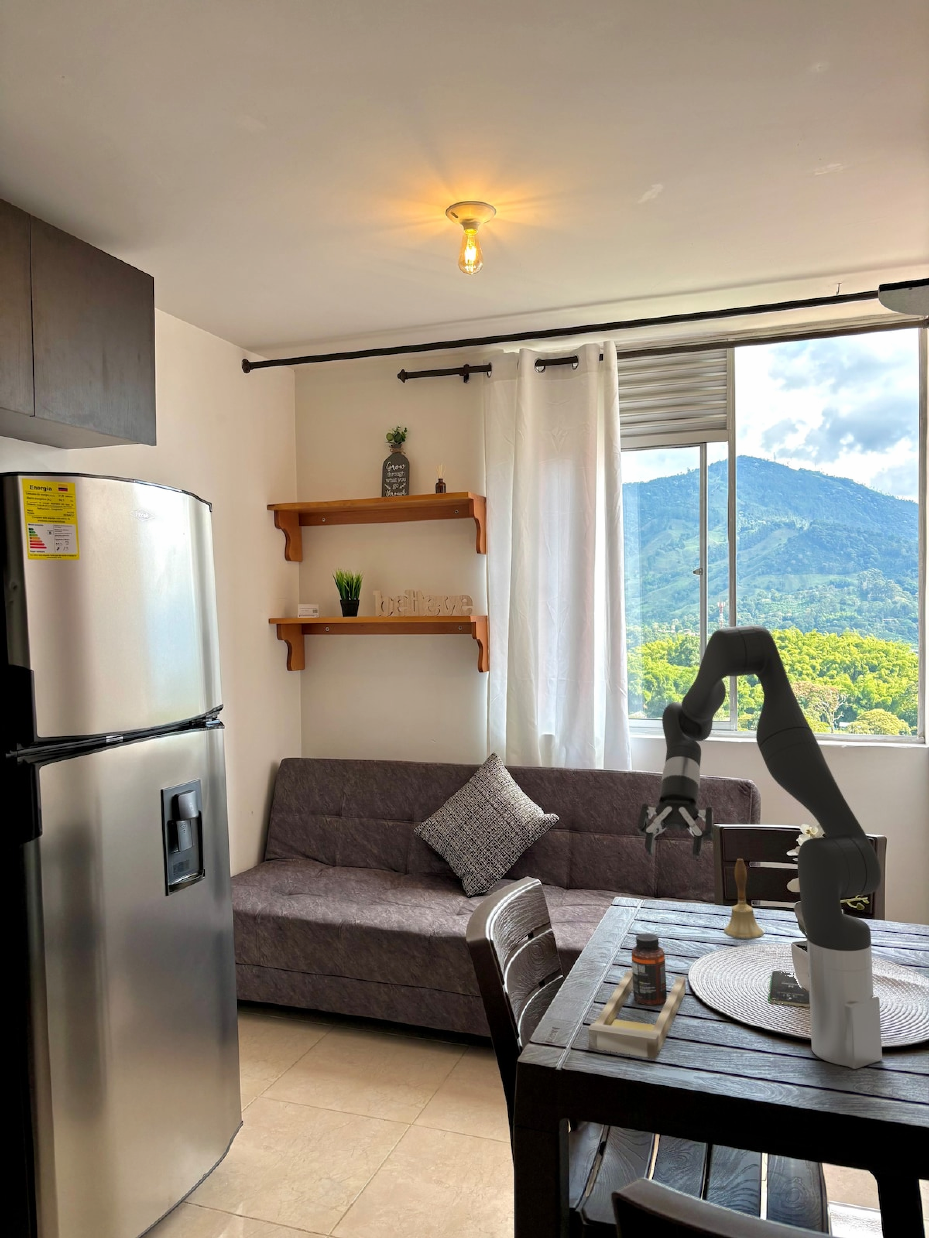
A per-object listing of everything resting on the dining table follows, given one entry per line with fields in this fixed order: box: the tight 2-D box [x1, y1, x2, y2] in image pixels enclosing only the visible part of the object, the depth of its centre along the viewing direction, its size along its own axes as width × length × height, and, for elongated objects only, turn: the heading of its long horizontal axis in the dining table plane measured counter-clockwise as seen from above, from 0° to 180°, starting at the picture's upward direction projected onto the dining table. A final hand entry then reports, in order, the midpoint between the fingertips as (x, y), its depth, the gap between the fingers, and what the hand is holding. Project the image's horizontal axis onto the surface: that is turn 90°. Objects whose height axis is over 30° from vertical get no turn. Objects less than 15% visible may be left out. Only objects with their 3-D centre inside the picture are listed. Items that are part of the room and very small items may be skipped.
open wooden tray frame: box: [587, 970, 687, 1060], centre depth 150 cm, size 28×11×3 cm, turn 157°
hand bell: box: [723, 858, 764, 939], centre depth 192 cm, size 8×8×16 cm
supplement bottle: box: [631, 932, 668, 1006], centre depth 158 cm, size 6×6×11 cm
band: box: [611, 1018, 655, 1032], centre depth 145 cm, size 5×8×1 cm, turn 67°
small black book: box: [767, 970, 810, 1008], centre depth 160 cm, size 8×1×15 cm
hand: (672, 854), depth 167 cm, fingers open, 8 cm apart
